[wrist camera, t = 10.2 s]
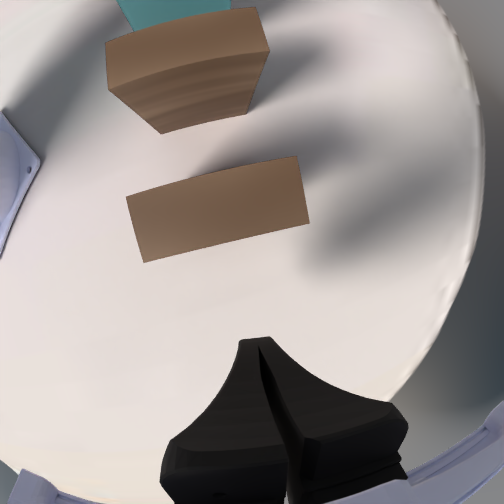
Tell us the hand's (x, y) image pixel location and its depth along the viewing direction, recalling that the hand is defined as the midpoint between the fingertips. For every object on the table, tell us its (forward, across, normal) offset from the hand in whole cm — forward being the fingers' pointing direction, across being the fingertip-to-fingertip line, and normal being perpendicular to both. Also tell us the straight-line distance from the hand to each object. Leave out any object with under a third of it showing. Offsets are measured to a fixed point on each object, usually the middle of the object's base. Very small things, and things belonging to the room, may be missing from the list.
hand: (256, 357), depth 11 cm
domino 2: (+6, +2, -12) cm, 13 cm away
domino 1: (+6, +1, -6) cm, 9 cm away
